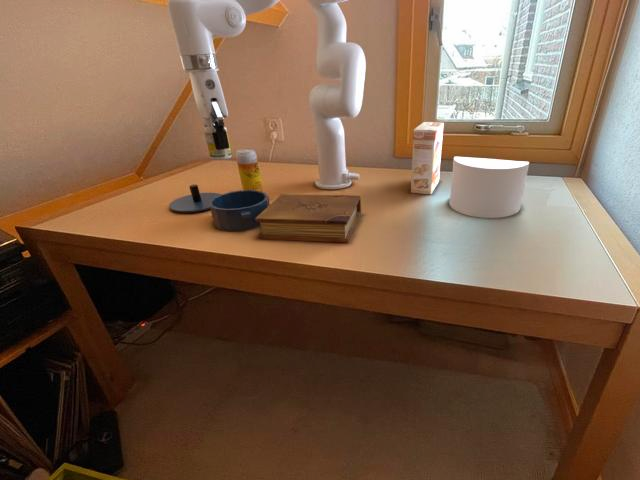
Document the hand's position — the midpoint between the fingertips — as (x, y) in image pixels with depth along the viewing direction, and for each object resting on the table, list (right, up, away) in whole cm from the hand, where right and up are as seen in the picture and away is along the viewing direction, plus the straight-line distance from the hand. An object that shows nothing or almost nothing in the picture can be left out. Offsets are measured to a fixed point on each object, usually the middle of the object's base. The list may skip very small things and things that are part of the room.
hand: (219, 145), depth 93 cm
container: (+72, -12, +16) cm, 75 cm away
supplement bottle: (0, -3, +2) cm, 3 cm away
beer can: (+1, -8, +27) cm, 28 cm away
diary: (+23, -20, +6) cm, 31 cm away
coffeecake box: (+58, -3, +32) cm, 66 cm away
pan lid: (-16, -10, +23) cm, 30 cm away
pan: (+2, -17, +12) cm, 21 cm away
